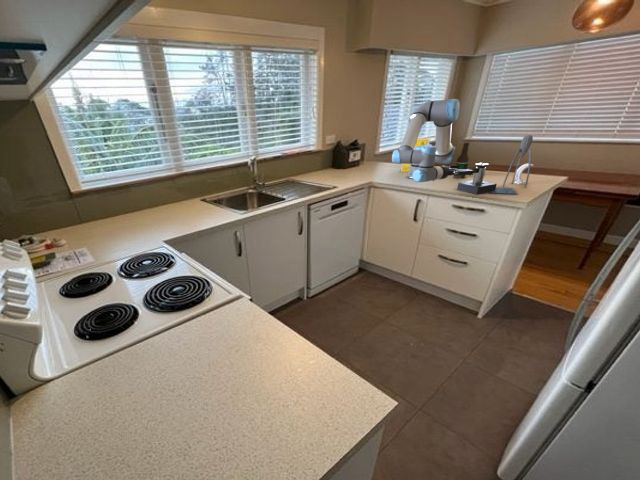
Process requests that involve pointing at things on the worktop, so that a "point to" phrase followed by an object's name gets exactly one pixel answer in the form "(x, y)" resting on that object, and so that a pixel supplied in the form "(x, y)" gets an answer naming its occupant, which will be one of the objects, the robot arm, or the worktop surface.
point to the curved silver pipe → (519, 172)
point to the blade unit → (479, 174)
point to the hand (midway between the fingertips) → (468, 168)
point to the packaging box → (418, 143)
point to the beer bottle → (463, 160)
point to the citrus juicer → (524, 149)
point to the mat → (503, 191)
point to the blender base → (476, 187)
